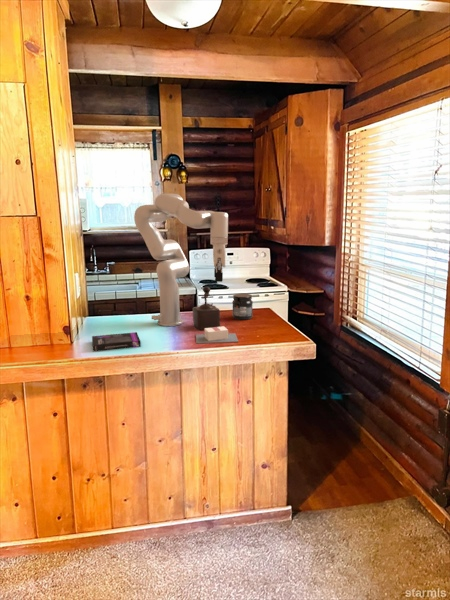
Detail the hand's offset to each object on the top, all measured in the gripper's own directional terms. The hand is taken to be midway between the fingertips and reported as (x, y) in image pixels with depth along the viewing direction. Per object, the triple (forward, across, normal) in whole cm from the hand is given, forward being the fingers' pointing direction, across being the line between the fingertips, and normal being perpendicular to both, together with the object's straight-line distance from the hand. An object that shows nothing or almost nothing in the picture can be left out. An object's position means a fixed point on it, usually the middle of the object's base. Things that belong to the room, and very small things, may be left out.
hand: (218, 279), depth 198 cm
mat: (+25, -8, +1) cm, 26 cm away
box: (+27, -12, +44) cm, 53 cm away
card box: (+25, -8, +1) cm, 26 cm away
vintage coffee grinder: (+26, +14, +5) cm, 30 cm away
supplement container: (+26, +26, -14) cm, 39 cm away
